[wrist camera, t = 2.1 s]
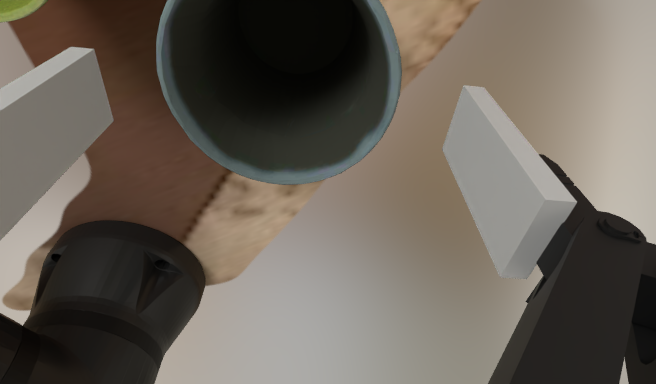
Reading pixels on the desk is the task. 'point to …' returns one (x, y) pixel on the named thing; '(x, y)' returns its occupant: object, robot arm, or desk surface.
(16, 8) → the plant pot
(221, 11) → the blue ceramic cup
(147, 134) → the desk surface
